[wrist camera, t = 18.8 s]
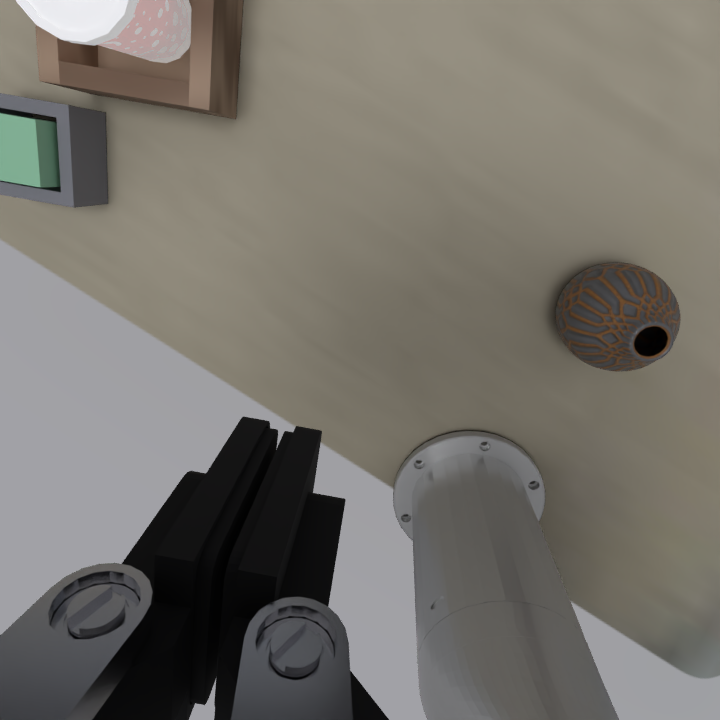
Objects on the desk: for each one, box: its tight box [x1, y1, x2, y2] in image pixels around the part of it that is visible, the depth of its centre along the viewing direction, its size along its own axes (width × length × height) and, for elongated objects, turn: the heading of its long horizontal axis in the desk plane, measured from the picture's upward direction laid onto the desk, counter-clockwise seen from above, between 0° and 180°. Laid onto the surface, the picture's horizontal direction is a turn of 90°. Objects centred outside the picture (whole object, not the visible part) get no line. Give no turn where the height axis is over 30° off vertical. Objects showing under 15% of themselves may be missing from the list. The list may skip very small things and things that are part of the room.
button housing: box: [0, 93, 108, 207], centre depth 32 cm, size 6×6×4 cm
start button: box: [0, 113, 61, 187], centre depth 32 cm, size 4×4×5 cm
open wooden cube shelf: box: [35, 0, 243, 119], centre depth 29 cm, size 10×10×5 cm
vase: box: [556, 263, 680, 371], centre depth 31 cm, size 7×7×9 cm
